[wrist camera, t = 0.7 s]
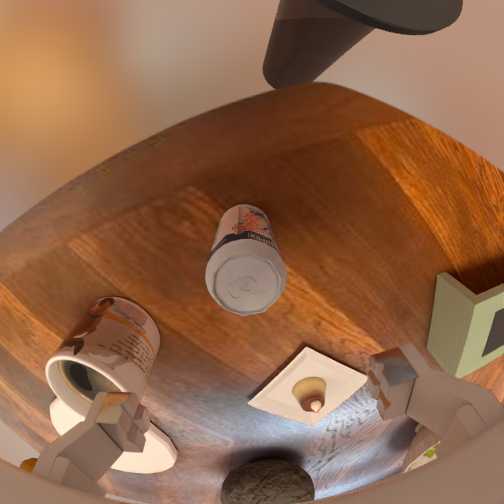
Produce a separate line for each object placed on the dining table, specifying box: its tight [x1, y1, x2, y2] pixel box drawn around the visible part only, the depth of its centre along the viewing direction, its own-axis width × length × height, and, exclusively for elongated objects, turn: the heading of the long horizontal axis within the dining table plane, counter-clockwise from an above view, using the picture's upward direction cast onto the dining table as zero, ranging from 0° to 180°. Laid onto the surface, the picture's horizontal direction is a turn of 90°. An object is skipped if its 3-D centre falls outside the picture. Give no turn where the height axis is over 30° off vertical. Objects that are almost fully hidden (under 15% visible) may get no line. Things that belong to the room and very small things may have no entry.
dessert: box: [247, 347, 368, 426], centre depth 33 cm, size 12×12×5 cm
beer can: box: [205, 204, 287, 316], centre depth 21 cm, size 5×5×12 cm
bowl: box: [402, 423, 443, 474], centre depth 38 cm, size 19×19×10 cm
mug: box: [45, 297, 160, 418], centre depth 26 cm, size 10×12×11 cm
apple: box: [20, 458, 38, 473], centre depth 44 cm, size 10×10×12 cm
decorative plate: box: [50, 397, 178, 474], centre depth 37 cm, size 25×4×25 cm
